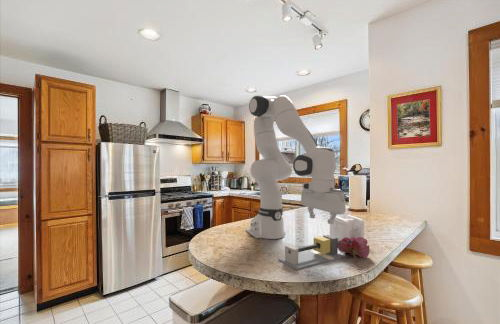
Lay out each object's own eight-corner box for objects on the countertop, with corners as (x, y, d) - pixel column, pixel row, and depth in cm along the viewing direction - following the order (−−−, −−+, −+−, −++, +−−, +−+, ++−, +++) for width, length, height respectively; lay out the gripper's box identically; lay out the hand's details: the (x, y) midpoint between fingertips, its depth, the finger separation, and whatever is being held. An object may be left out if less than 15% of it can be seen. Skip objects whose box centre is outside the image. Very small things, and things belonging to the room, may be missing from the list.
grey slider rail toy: (278, 260, 92) (278, 241, 92) (323, 249, 105) (324, 233, 105) (296, 270, 83) (297, 249, 83) (343, 256, 96) (343, 239, 96)
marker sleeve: (313, 249, 98) (313, 237, 98) (320, 248, 100) (320, 236, 100) (323, 253, 94) (323, 240, 94) (330, 252, 96) (330, 239, 96)
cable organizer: (365, 245, 111) (366, 220, 111) (345, 246, 109) (345, 221, 109) (346, 236, 126) (347, 214, 126) (328, 237, 124) (328, 214, 124)
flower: (341, 259, 103) (351, 238, 106) (364, 269, 95) (373, 246, 98) (330, 248, 97) (340, 226, 100) (353, 258, 89) (363, 234, 92)
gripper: (350, 189, 90) (348, 226, 91) (309, 183, 108) (308, 214, 108) (339, 190, 87) (337, 228, 87) (299, 184, 104) (297, 215, 105)
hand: (320, 220), depth 98 cm, fingers open, 8 cm apart
